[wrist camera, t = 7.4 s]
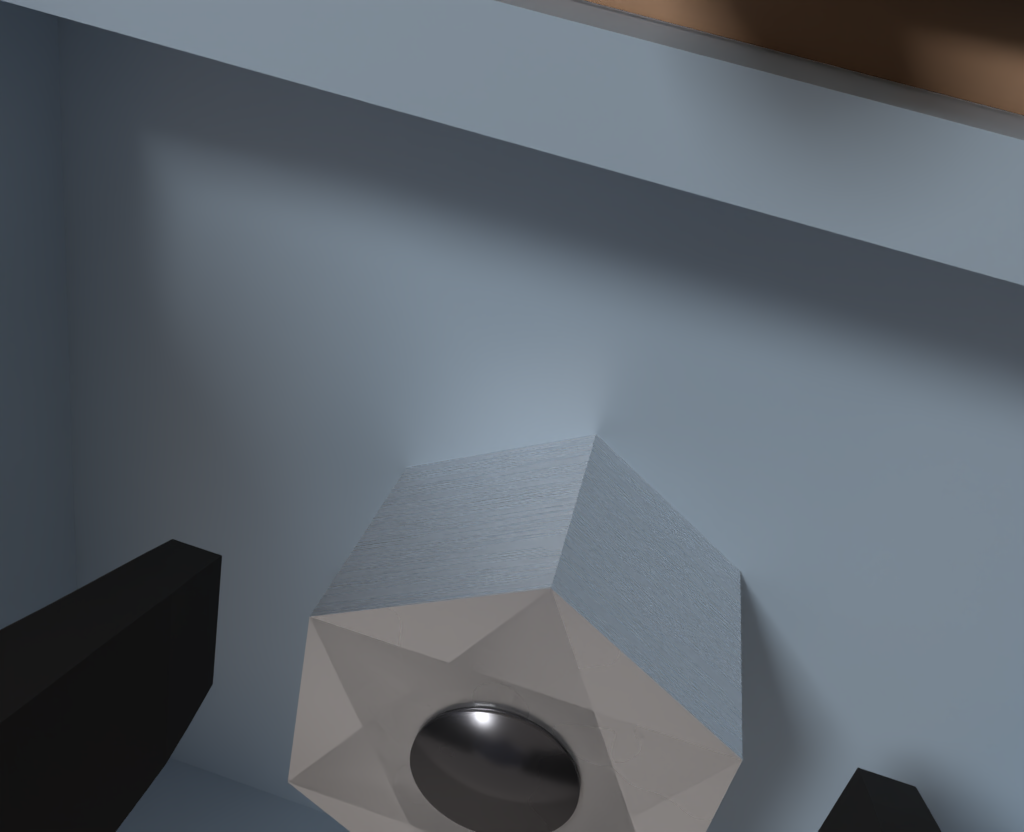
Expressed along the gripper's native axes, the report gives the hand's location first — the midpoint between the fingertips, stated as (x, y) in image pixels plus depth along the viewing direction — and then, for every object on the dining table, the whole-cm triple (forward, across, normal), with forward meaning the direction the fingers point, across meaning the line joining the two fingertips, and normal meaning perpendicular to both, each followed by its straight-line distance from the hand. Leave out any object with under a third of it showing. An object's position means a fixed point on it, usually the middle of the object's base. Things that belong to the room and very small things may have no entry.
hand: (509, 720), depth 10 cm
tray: (+3, 0, 0) cm, 3 cm away
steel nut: (+2, 0, 0) cm, 2 cm away
